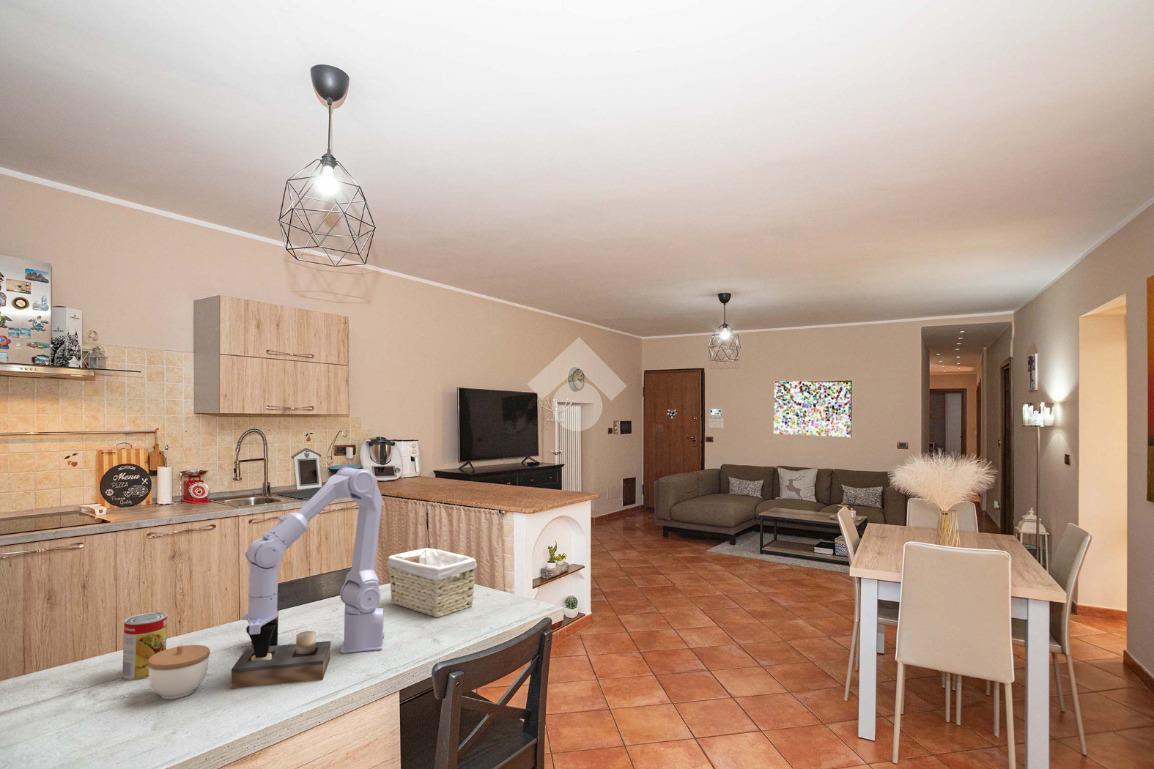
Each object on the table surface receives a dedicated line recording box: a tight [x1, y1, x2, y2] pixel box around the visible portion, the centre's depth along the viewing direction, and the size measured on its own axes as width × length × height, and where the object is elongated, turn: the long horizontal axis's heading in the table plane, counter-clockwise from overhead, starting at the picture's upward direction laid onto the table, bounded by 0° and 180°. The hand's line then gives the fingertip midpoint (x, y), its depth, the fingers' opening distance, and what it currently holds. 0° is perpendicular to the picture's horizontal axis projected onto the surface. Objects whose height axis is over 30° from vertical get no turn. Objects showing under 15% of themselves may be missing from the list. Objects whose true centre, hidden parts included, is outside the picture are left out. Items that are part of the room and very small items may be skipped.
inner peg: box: [295, 630, 317, 654], centre depth 138 cm, size 4×4×4 cm
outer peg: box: [251, 653, 272, 661], centre depth 135 cm, size 4×4×4 cm
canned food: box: [121, 611, 168, 681], centre depth 137 cm, size 8×8×12 cm
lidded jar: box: [148, 644, 211, 700], centre depth 127 cm, size 11×11×9 cm
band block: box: [230, 640, 332, 690], centre depth 137 cm, size 18×12×4 cm, turn 105°
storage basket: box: [387, 547, 478, 618], centre depth 185 cm, size 24×16×15 cm
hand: (261, 656), depth 136 cm, fingers closed, pressing on outer peg
